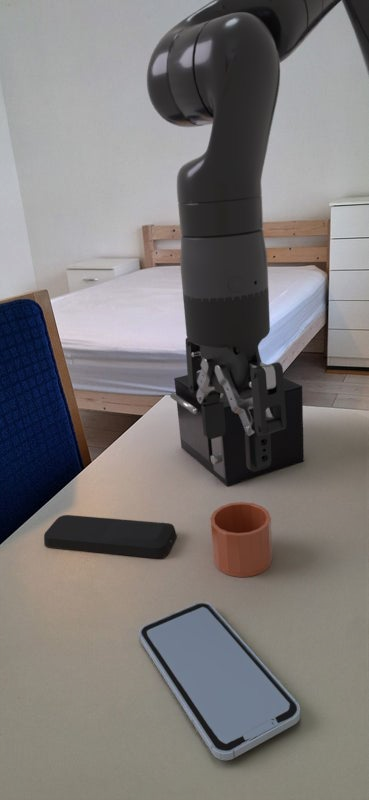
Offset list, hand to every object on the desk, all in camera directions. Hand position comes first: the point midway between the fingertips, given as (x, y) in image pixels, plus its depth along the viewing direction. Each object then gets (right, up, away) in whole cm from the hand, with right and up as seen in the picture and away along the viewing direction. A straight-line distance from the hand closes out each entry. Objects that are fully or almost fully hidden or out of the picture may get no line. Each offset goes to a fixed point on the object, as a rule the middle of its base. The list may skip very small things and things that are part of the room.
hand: (235, 451), depth 58 cm
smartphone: (-3, -18, -9) cm, 20 cm away
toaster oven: (+3, -3, +27) cm, 27 cm away
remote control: (-13, -11, +10) cm, 20 cm away
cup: (+1, -12, +5) cm, 13 cm away
